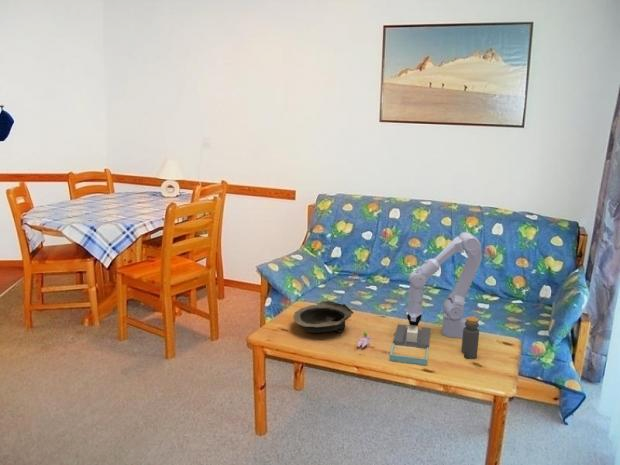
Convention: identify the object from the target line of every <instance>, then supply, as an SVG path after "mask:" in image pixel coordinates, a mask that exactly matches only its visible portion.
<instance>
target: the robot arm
mask: <svg viewBox="0 0 620 465" xmlns="http://www.w3.org/2000/svg"><path fill="white" fill-rule="evenodd" d="M456 253H458V254H459V253H465V254H466V256H467V259H466V261H465V263H464V265H463V268H462V270H461V272H460V274H459V276H458V279H457V281H456V284H455V286H454V288H453V291H452V292H451V293H449V295H448V296H447V298H446V299H445V300H443V302H442V308H443V310H444V312H443V314H442V315H443V316H442V326H441V334H442V336H445V337H448V338H456V339H457V338H459V339H462V338H463V329H464V328H465V327H466V326H465V322H466V317H463V315H464V307H465V302H466V301H465V300H466V296H467V294H468V291H469V289H470V287H471V285H472V282H473V281H474V278H475V276H476V274H477V271H478V269H479V267H480V265H481V262H482V260H483V254H482V253H483V252H482V244H481V242H480V240H479V238H477V237H476V236H474V235H473V234H472V233H471V232H469V231H463V232H461V233H459V235H458V236H456V237H454V239H453V240H452V241H451V242H450V243H449V244H448V245H447V246H446V247H445V248H443V249H442V251H440V252H439V254H437V256H435V257H434V258H429V259H425V260H424V262H423V264H422V265H421V266H419V267H417V268H415V271H414V270H413V271H412V272H410V273H409V276H408V278H407V279H408V282H409V289H408V300H407V302H408V303H407V308H404V312H405V313H407V317H406V318H407V321H408V325H416V326H418V327H419V324H420V321H421V320H422V314H423V300H424V287H425V285H426V283H427V280H429V279H430V278H431V277H432V276H433V275H435V274H436V273H437V272H438V271H439V270H440V267H441V265H442V264H443V263H445V261H447V260H448V259H450V258H451V257H452V256H453V255H455V254H456Z"/></svg>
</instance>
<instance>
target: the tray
mask: <svg viewBox="0 0 620 465" xmlns="http://www.w3.org/2000/svg"><path fill="white" fill-rule="evenodd" d="M391 345H392V346H391V350H390V353H389V362H395V363H401V364H410V365H417V366H426V367H427V366H428V356H429V349H430V347H429V348H428V347H427V349H426V354H425V358H423V357H415V356H408V355H400V354H399V355H398V354H393V353H394V349H395V346H396V345H395V343H392V344H391Z"/></svg>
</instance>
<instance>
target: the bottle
mask: <svg viewBox="0 0 620 465" xmlns="http://www.w3.org/2000/svg"><path fill="white" fill-rule="evenodd" d="M465 318H466V322H465V326H466V327H465V328H464V329H463V338H461V339H462V340H461V353H462V354H463V357H464V358H466V359H471V360H474V359H476V358H477V357H478V351H479V336H480V329H479V327H480V324H479V320H480V319H479V318H478V317H476V316H467V317H465Z"/></svg>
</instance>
